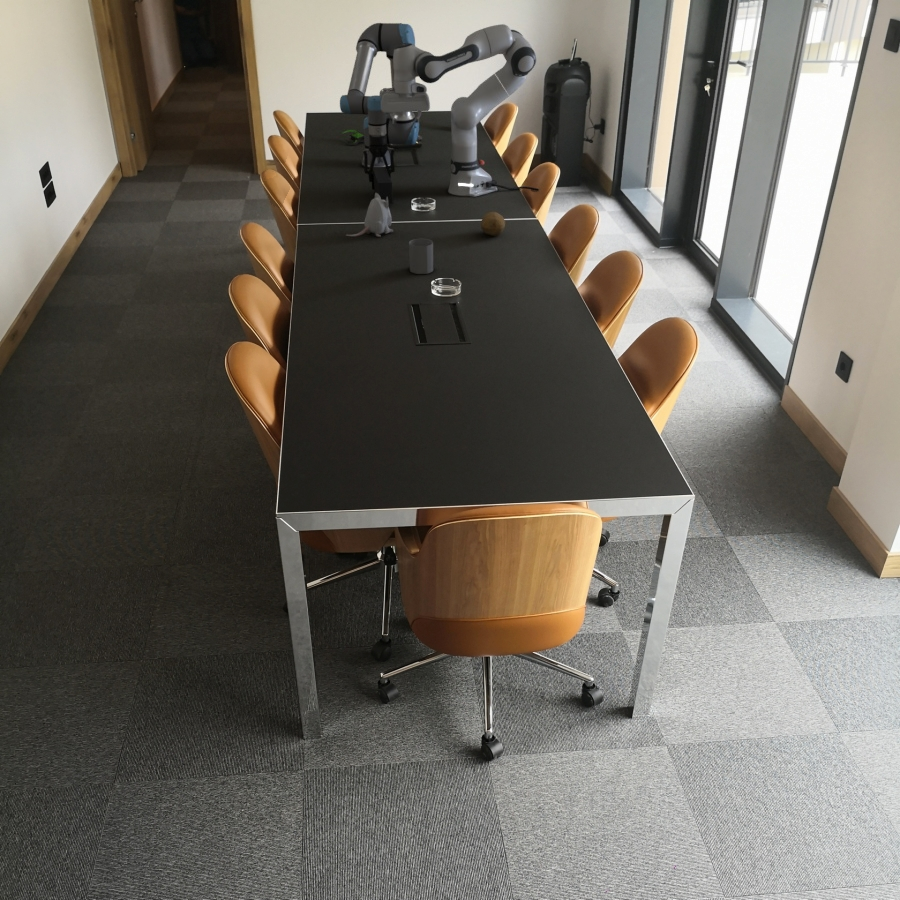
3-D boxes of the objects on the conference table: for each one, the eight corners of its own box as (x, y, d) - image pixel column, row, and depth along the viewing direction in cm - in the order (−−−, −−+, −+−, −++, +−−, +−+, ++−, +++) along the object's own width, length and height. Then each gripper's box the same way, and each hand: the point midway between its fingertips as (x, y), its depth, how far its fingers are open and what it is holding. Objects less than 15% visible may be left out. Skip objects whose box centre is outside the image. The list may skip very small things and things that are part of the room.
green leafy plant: (396, 126, 467) (340, 124, 465) (396, 141, 460) (339, 139, 458) (396, 136, 472) (341, 134, 470) (396, 151, 465) (340, 149, 463)
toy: (398, 232, 342) (397, 194, 334) (353, 246, 328) (351, 207, 320) (383, 227, 348) (381, 189, 340) (338, 241, 333) (335, 202, 325)
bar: (372, 187, 388) (371, 167, 383) (385, 186, 389) (384, 166, 384) (379, 204, 368) (378, 183, 363) (392, 203, 369) (391, 182, 364)
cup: (409, 265, 311) (408, 238, 306) (432, 265, 312) (431, 238, 307) (410, 274, 304) (409, 246, 299) (433, 273, 305) (433, 246, 299)
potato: (502, 228, 347) (503, 208, 342) (507, 239, 335) (507, 219, 331) (478, 228, 346) (478, 208, 342) (481, 240, 334) (482, 219, 330)
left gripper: (356, 138, 368) (360, 192, 381) (400, 135, 371) (402, 189, 383) (355, 133, 374) (358, 187, 387) (398, 131, 377) (400, 184, 390)
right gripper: (380, 89, 348) (381, 125, 355) (430, 87, 351) (430, 123, 358) (378, 86, 353) (379, 122, 360) (427, 85, 356) (428, 120, 364)
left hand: (380, 188), depth 385 cm, fingers closed on bar, 6 cm apart
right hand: (405, 122), depth 359 cm, fingers open, 8 cm apart
